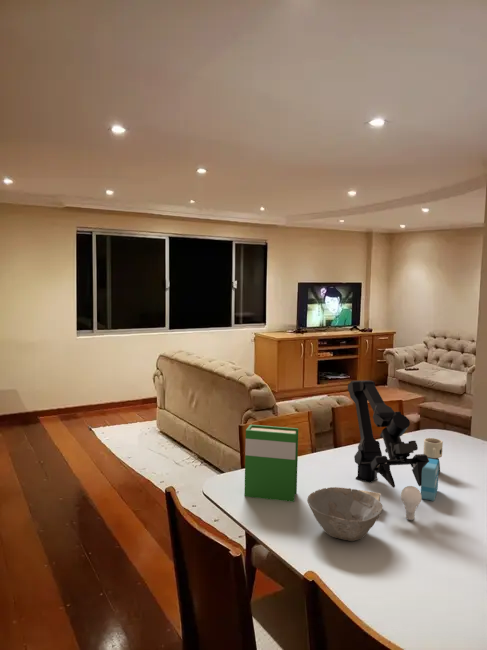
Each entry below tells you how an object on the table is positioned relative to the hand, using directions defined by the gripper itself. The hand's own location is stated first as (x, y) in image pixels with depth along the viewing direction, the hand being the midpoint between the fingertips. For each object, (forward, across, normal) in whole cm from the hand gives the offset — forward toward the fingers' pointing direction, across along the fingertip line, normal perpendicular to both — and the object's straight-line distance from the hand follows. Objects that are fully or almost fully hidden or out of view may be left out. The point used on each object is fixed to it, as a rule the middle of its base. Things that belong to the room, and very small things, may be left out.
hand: (407, 486), depth 168 cm
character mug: (-18, +30, +32) cm, 47 cm away
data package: (-3, +17, +18) cm, 24 cm away
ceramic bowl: (+13, -25, +1) cm, 28 cm away
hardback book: (-8, -41, +23) cm, 47 cm away
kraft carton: (+2, -10, +12) cm, 16 cm away
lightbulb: (+9, 0, +5) cm, 11 cm away
